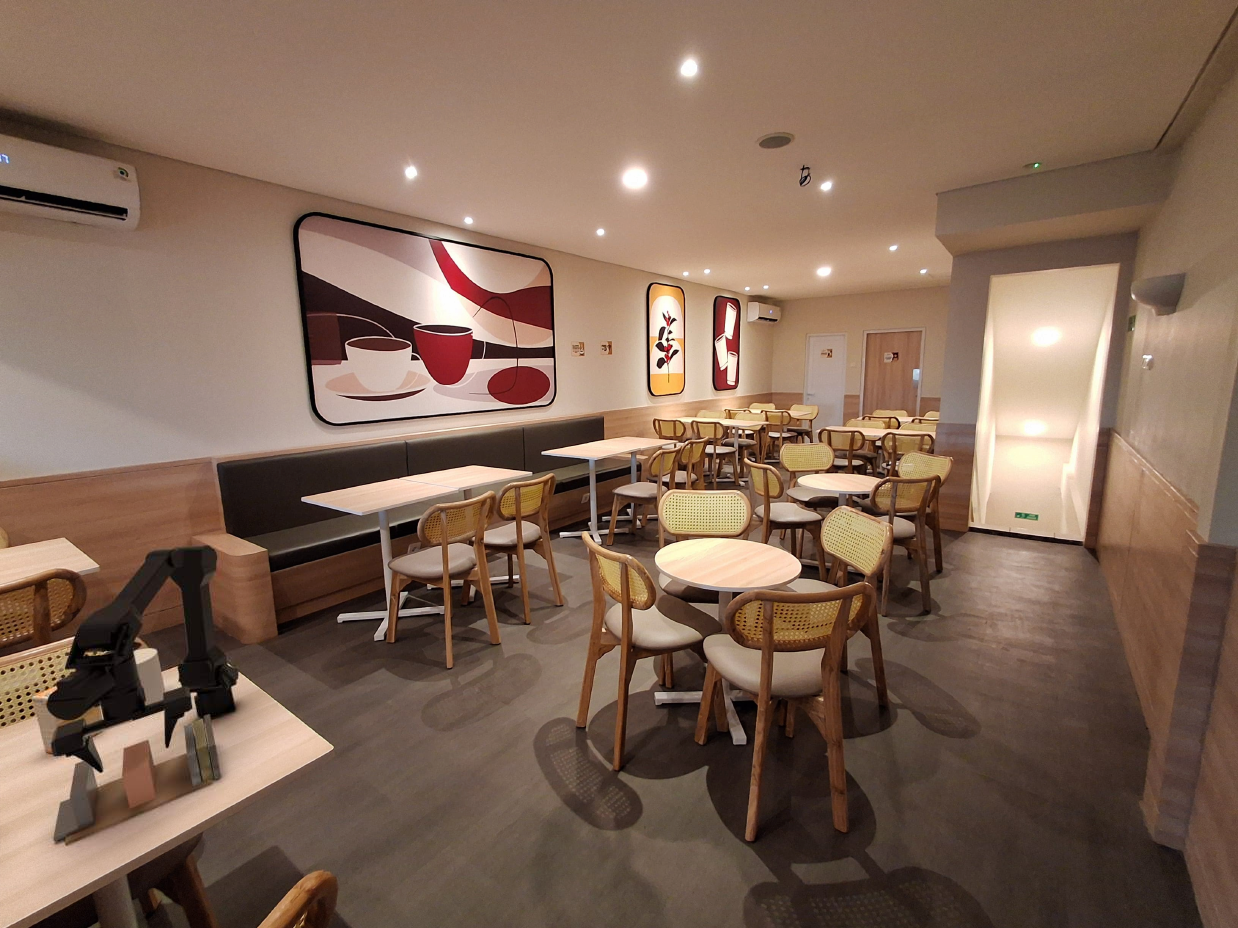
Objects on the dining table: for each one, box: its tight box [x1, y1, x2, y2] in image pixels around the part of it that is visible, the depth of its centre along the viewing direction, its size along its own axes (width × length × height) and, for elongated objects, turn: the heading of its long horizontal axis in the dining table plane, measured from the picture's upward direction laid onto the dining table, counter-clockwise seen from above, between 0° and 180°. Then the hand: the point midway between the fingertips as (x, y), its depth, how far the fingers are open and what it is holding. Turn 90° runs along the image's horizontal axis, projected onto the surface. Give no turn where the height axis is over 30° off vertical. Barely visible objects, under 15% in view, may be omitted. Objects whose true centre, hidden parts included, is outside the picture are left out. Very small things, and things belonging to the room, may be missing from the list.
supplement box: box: [31, 685, 103, 755], centre depth 115 cm, size 8×5×13 cm, turn 168°
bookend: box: [52, 760, 99, 842], centre depth 96 cm, size 5×10×7 cm, turn 40°
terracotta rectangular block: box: [121, 739, 156, 809], centre depth 102 cm, size 4×9×7 cm, turn 41°
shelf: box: [64, 714, 222, 846], centre depth 102 cm, size 22×13×8 cm, turn 130°
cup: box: [134, 647, 167, 705], centre depth 127 cm, size 8×8×12 cm
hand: (135, 758), depth 101 cm, fingers open, 9 cm apart
